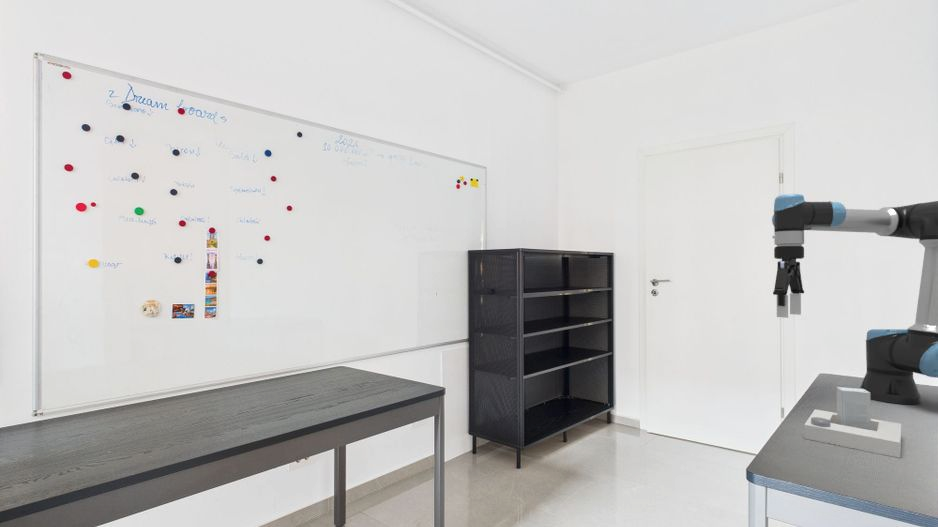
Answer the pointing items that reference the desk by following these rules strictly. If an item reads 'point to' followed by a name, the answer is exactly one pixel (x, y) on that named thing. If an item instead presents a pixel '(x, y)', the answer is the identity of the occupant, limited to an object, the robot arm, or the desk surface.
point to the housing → (854, 434)
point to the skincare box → (854, 407)
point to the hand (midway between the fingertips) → (789, 315)
